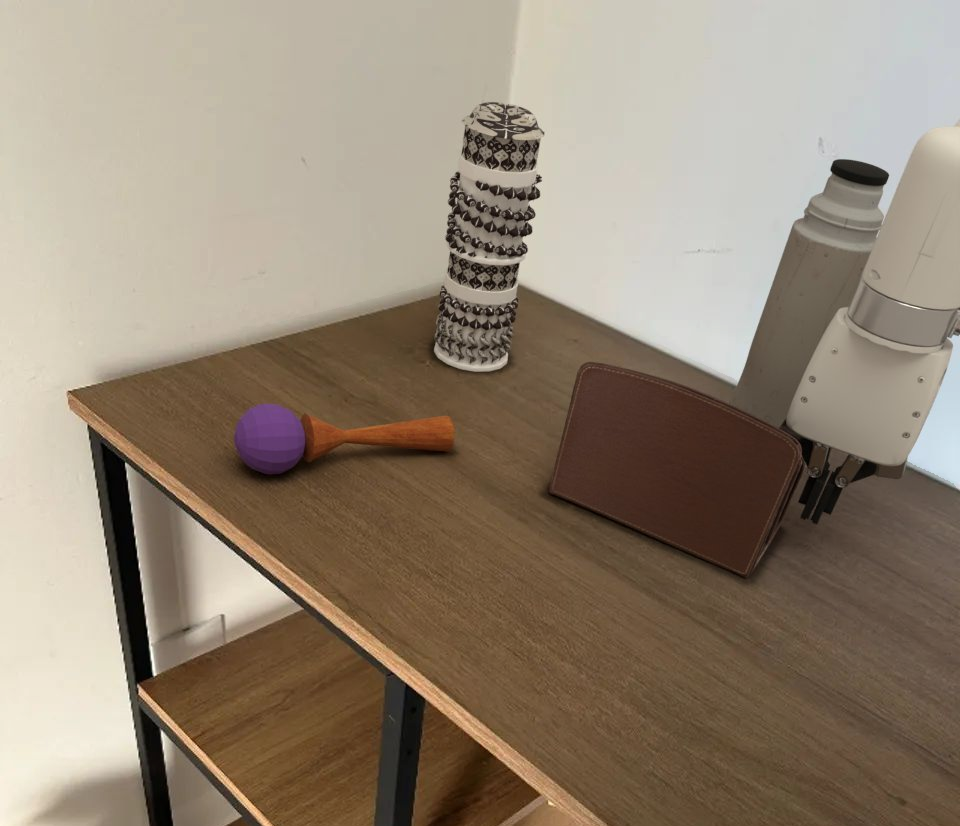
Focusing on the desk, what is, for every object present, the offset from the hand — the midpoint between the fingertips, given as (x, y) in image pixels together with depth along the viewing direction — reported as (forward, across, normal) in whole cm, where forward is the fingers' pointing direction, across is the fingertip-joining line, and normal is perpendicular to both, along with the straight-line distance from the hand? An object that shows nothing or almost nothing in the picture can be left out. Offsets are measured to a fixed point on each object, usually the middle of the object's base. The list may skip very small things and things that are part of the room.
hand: (811, 514), depth 85 cm
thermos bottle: (+4, +8, -16) cm, 19 cm away
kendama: (+4, +40, +14) cm, 42 cm away
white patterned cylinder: (+4, +41, -14) cm, 44 cm away
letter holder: (+4, +12, +2) cm, 13 cm away
